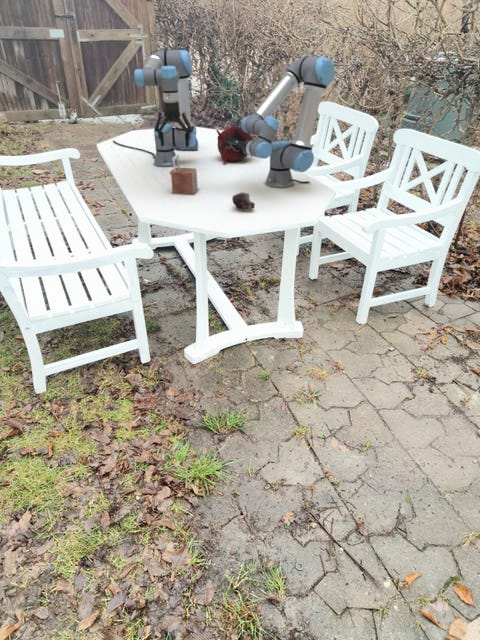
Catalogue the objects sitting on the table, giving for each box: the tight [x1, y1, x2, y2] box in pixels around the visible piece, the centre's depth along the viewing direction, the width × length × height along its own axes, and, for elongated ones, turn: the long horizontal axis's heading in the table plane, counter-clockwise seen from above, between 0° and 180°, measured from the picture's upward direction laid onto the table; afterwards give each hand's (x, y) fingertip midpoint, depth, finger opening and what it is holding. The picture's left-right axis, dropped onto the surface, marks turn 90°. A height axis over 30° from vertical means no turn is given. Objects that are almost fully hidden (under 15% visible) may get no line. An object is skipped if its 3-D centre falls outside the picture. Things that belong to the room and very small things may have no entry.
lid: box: [169, 153, 197, 175], centre depth 241 cm, size 12×9×8 cm
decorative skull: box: [216, 126, 254, 165], centre depth 296 cm, size 21×24×25 cm
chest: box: [170, 170, 199, 196], centre depth 246 cm, size 12×9×10 cm
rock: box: [232, 192, 256, 211], centre depth 223 cm, size 12×9×10 cm
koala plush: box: [174, 137, 199, 151], centre depth 321 cm, size 17×18×20 cm
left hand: (175, 146), depth 236 cm, fingers open, 13 cm apart
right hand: (234, 144), depth 248 cm, fingers open, 13 cm apart
